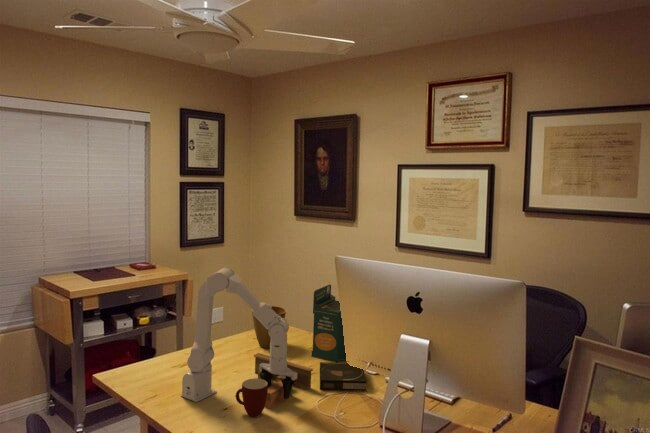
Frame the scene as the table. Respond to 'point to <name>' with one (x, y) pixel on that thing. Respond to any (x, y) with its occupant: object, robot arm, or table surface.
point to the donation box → (327, 327)
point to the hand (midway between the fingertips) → (277, 395)
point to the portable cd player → (341, 377)
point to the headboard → (302, 371)
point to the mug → (253, 396)
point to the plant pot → (262, 331)
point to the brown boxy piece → (275, 394)
